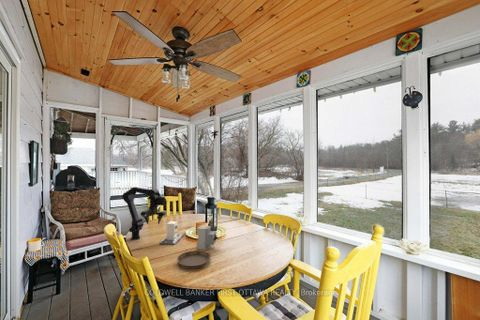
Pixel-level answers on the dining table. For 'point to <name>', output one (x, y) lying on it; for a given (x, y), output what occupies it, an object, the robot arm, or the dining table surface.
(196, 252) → the plant saucer
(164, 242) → the rail plate
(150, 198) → the robot arm
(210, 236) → the circuit breaker
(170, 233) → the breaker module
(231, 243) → the dining table surface
